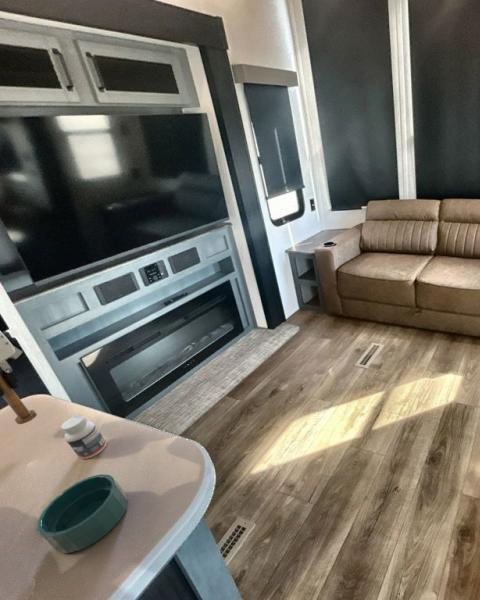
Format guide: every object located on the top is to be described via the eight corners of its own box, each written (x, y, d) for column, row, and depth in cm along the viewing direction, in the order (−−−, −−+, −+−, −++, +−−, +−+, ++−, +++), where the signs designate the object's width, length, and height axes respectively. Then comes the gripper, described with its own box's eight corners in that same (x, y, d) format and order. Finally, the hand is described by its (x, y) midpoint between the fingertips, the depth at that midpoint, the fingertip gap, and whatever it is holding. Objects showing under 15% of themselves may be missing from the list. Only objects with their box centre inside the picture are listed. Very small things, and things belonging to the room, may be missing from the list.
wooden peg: (13, 422, 86) (-24, 375, 79) (31, 412, 89) (-4, 365, 82) (22, 425, 84) (-15, 377, 78) (40, 414, 87) (6, 367, 81)
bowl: (39, 545, 64) (21, 526, 61) (103, 486, 73) (89, 468, 70) (82, 563, 60) (64, 544, 57) (143, 499, 69) (129, 481, 67)
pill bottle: (73, 457, 81) (51, 428, 77) (97, 438, 85) (77, 410, 81) (89, 461, 79) (67, 433, 75) (112, 442, 83) (92, 414, 79)
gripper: (-10, 302, 82) (36, 368, 91) (-114, 341, 69) (-50, 413, 77) (10, 304, 80) (55, 371, 88) (-94, 345, 67) (-30, 419, 75)
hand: (5, 390), depth 83 cm, fingers closed on wooden peg, 2 cm apart
